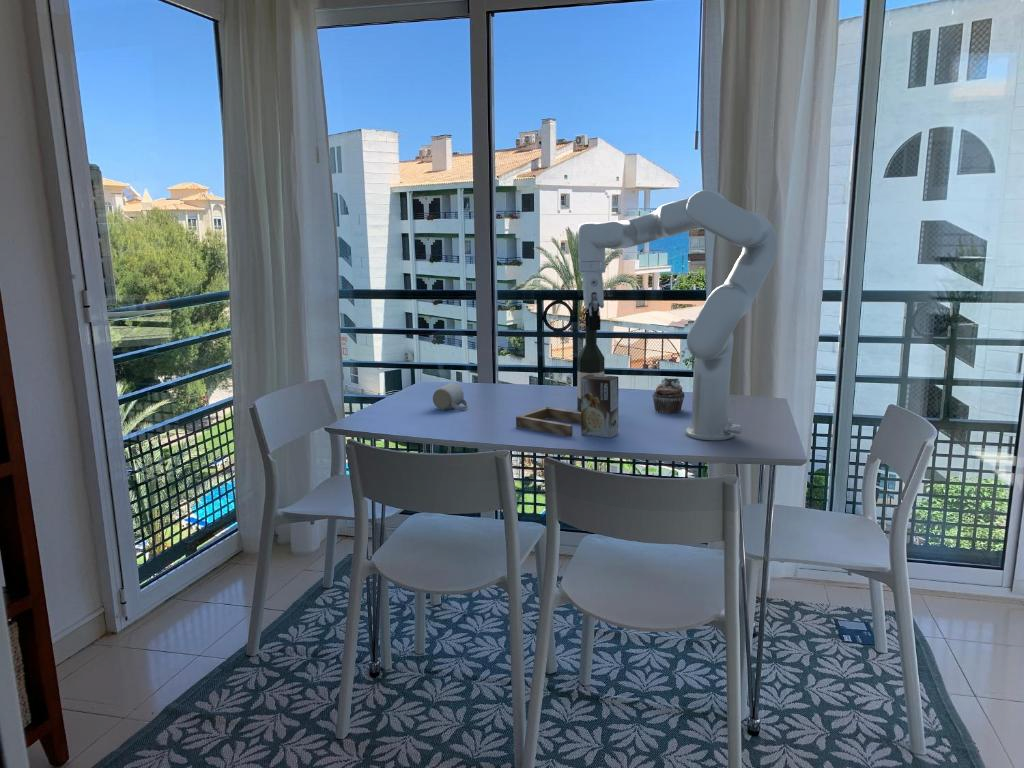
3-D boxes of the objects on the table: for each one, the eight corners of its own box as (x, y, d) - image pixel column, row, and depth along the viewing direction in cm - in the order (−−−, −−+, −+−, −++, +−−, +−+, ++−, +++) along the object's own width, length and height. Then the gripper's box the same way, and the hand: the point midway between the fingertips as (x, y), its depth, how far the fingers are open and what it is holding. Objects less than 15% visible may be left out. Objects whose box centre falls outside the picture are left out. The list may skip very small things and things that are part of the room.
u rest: (598, 425, 214) (598, 415, 214) (569, 436, 203) (569, 426, 202) (546, 416, 226) (546, 406, 225) (516, 426, 214) (515, 416, 214)
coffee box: (619, 432, 206) (620, 376, 203) (610, 438, 201) (611, 380, 197) (589, 429, 210) (589, 373, 207) (579, 434, 205) (579, 377, 202)
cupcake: (651, 406, 236) (652, 375, 234) (682, 407, 234) (683, 376, 232) (652, 414, 227) (653, 381, 225) (685, 414, 225) (686, 382, 223)
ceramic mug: (431, 409, 237) (430, 386, 235) (444, 404, 244) (443, 381, 242) (460, 413, 232) (460, 389, 231) (472, 407, 239) (472, 384, 238)
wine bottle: (602, 413, 228) (603, 316, 222) (575, 412, 230) (575, 315, 224) (605, 407, 236) (605, 312, 230) (578, 406, 238) (579, 312, 232)
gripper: (609, 268, 201) (609, 331, 204) (601, 266, 218) (602, 324, 221) (581, 269, 201) (582, 332, 204) (576, 266, 218) (577, 325, 221)
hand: (592, 328), depth 212 cm, fingers open, 9 cm apart
